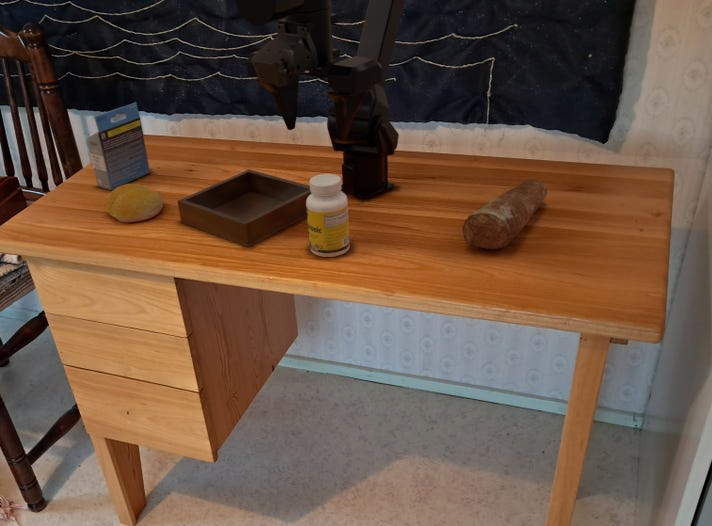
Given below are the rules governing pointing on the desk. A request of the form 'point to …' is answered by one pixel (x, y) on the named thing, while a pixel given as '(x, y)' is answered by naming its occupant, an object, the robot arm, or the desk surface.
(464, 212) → the desk surface
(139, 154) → the label tape box
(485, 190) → the desk surface
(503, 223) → the salami
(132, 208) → the bread roll
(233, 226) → the tray
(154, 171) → the desk surface
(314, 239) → the supplement bottle
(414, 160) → the desk surface
